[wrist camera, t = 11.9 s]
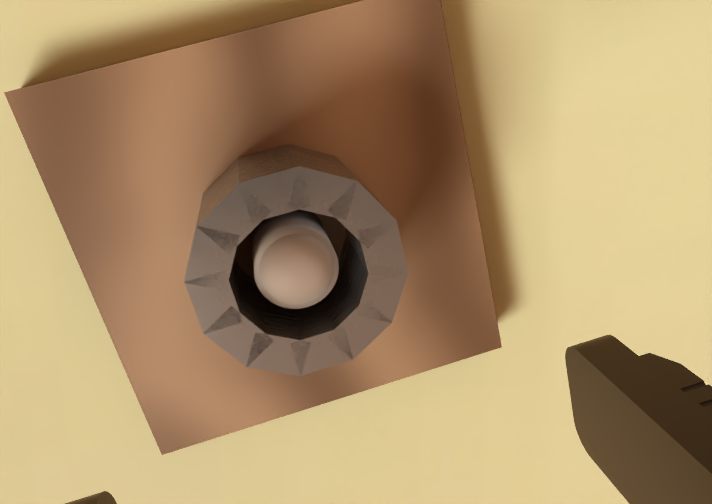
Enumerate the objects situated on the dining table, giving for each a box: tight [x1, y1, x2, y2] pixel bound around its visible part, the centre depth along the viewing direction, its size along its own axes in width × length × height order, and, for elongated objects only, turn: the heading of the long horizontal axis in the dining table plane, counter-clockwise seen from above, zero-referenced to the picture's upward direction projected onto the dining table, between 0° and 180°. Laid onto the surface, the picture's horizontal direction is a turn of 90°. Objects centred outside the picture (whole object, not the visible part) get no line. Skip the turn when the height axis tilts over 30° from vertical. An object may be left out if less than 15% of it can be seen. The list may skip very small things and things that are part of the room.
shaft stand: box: [5, 0, 502, 455], centre depth 21 cm, size 14×14×6 cm
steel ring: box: [184, 143, 408, 376], centre depth 20 cm, size 6×6×4 cm
